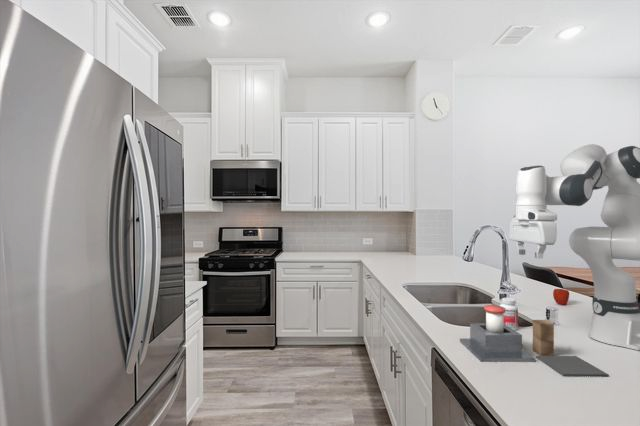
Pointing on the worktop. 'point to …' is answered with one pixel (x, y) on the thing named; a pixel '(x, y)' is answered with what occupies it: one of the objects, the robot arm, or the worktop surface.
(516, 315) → the pill bottle
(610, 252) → the robot arm
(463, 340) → the box
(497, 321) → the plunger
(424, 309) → the worktop surface
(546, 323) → the stacked wooden blocks
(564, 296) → the apple
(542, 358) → the mat
